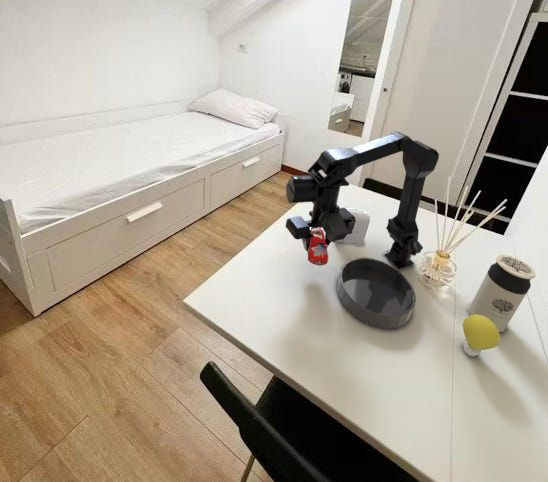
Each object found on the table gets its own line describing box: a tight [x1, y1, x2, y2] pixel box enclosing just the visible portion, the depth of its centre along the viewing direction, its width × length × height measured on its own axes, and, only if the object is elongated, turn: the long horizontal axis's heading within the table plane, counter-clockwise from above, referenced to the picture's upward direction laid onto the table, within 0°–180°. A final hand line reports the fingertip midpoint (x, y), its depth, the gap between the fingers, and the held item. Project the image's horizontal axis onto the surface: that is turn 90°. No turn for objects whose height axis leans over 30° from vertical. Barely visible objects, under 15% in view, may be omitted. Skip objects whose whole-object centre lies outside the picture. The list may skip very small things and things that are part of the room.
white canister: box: [468, 254, 536, 333], centre depth 72 cm, size 8×8×18 cm
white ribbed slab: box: [336, 207, 371, 246], centre depth 97 cm, size 10×4×12 cm, turn 84°
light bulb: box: [462, 314, 501, 357], centre depth 65 cm, size 7×7×10 cm
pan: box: [336, 257, 417, 330], centre depth 78 cm, size 19×19×4 cm
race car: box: [306, 228, 329, 266], centre depth 80 cm, size 13×5×4 cm, turn 177°
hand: (316, 247), depth 80 cm, fingers closed on race car, 6 cm apart
